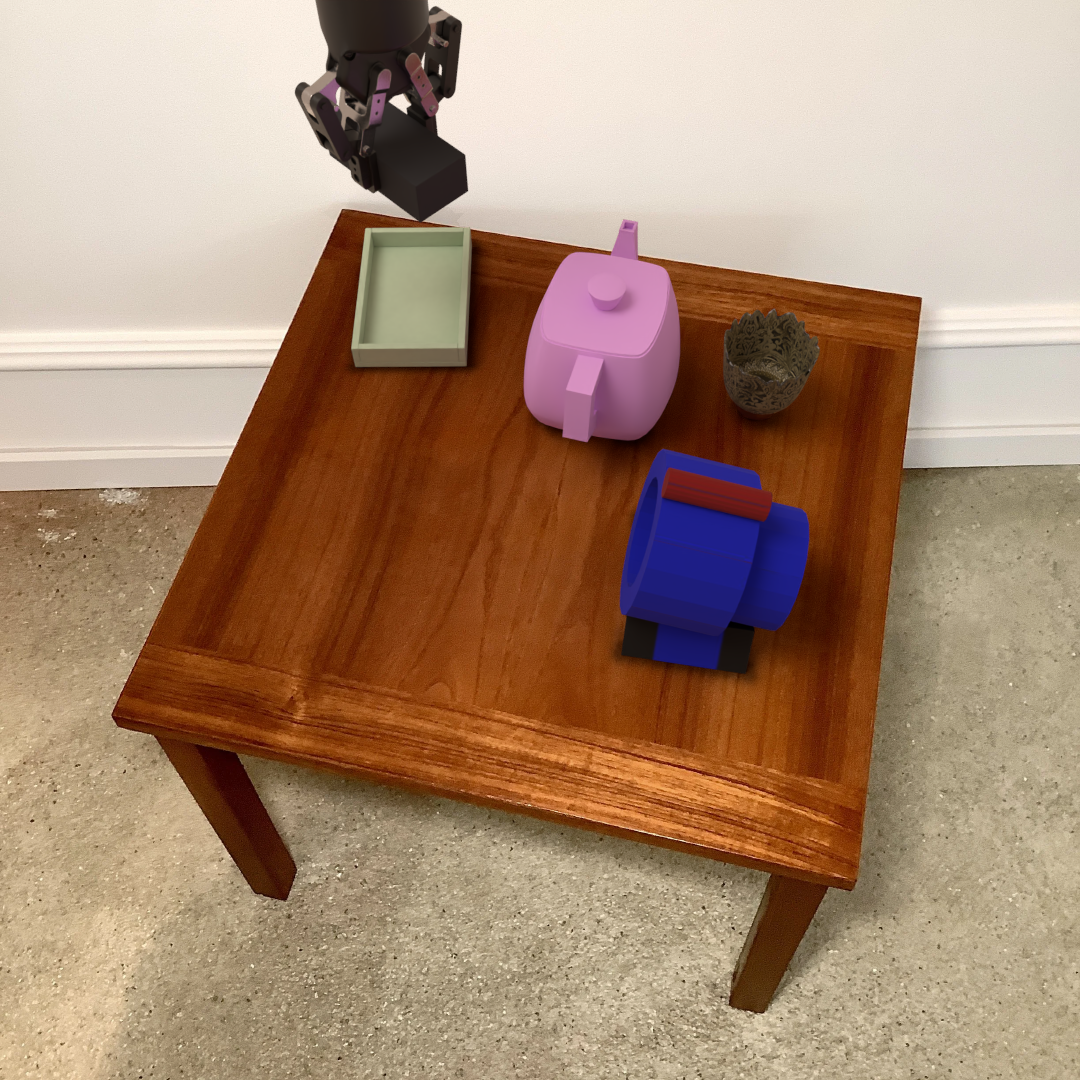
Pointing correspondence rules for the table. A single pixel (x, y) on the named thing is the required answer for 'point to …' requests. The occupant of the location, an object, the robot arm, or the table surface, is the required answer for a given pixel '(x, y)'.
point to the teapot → (604, 344)
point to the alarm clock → (708, 564)
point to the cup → (767, 362)
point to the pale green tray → (413, 298)
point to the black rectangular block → (415, 165)
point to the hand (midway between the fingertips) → (396, 168)
